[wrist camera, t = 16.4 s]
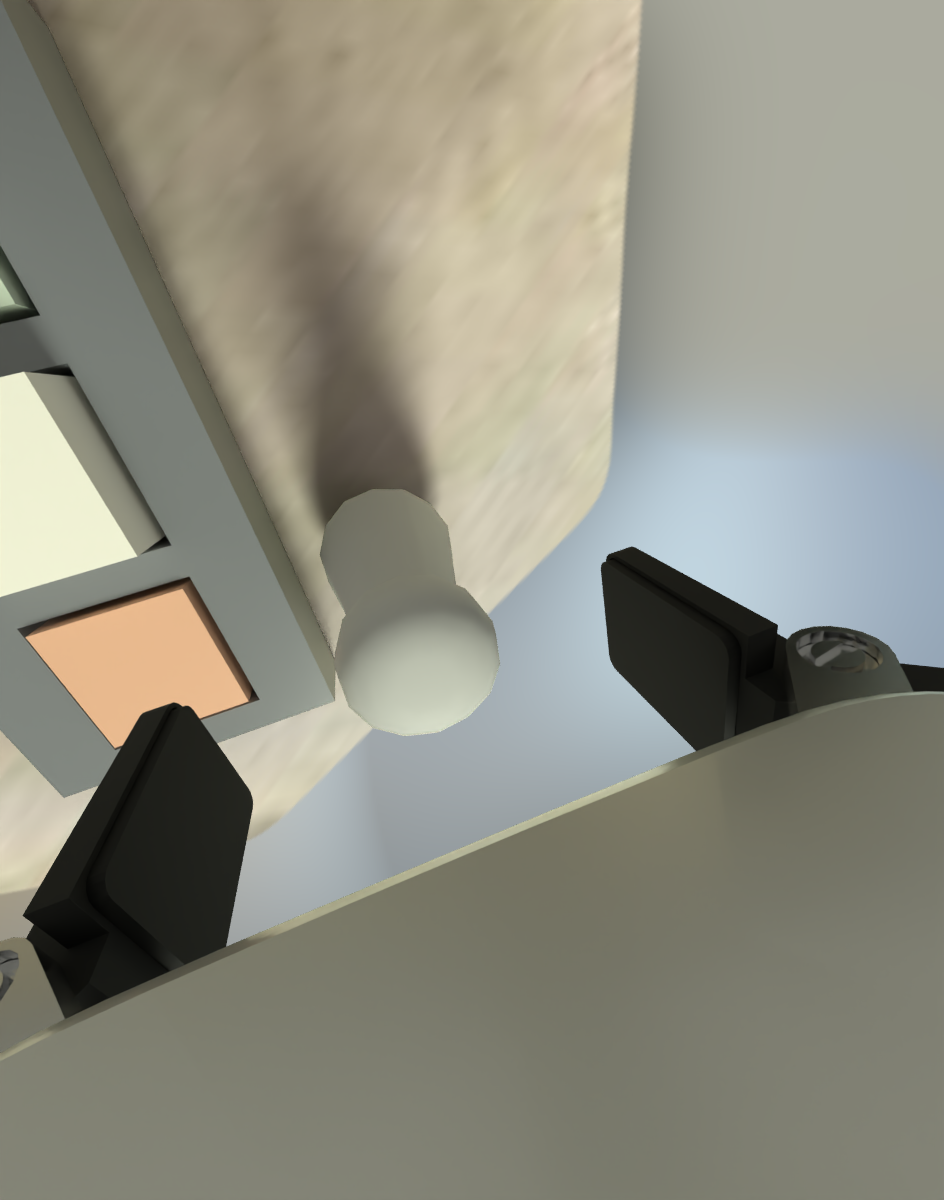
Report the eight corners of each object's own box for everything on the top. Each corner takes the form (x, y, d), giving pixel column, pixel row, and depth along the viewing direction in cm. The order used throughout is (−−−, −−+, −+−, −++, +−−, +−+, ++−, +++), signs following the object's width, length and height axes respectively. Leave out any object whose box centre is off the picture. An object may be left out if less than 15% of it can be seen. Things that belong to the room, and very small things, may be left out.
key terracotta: (76, 599, 20) (25, 637, 16) (207, 559, 20) (182, 588, 17) (147, 698, 22) (114, 748, 19) (261, 660, 23) (248, 701, 20)
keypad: (-427, 94, 12) (-700, -16, 9) (48, 27, 14) (-41, -86, 11) (102, 742, 23) (63, 797, 20) (335, 662, 24) (334, 701, 21)
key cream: (-91, 421, 15) (-208, 426, 12) (88, 378, 16) (23, 371, 12) (23, 573, 17) (-48, 611, 14) (173, 529, 18) (137, 556, 15)
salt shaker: (373, 453, 21) (412, 513, 9) (463, 529, 23) (582, 650, 12) (298, 550, 22) (246, 716, 10) (392, 613, 24) (439, 804, 13)
